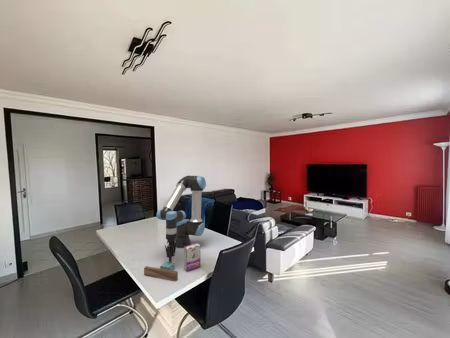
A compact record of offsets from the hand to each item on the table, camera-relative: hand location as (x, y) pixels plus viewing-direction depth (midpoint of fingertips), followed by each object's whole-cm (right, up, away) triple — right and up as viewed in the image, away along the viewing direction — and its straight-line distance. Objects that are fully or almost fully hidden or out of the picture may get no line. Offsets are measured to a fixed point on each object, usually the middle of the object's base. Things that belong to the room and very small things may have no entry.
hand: (171, 265), depth 146 cm
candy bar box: (+15, -2, -1) cm, 16 cm away
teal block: (-2, -2, -4) cm, 5 cm away
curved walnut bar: (-4, -2, -12) cm, 13 cm away
